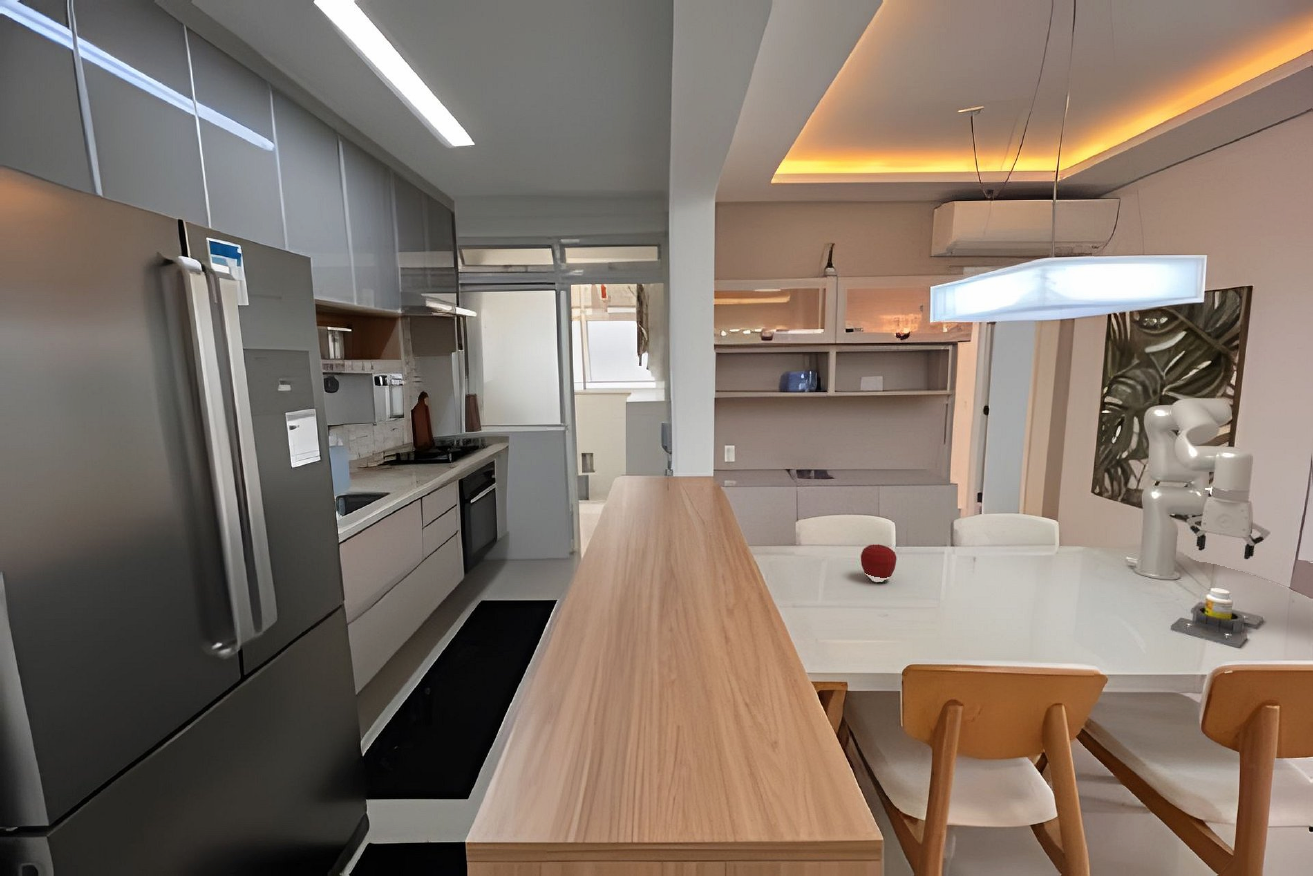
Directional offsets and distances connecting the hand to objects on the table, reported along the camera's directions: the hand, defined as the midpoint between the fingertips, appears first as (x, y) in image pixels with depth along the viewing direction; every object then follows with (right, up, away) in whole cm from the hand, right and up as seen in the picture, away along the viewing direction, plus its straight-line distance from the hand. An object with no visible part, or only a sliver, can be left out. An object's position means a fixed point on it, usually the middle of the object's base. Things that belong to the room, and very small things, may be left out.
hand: (1223, 553), depth 170 cm
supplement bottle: (-1, -21, +1) cm, 21 cm away
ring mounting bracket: (-1, -21, +1) cm, 21 cm away
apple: (-84, -17, +40) cm, 94 cm away
